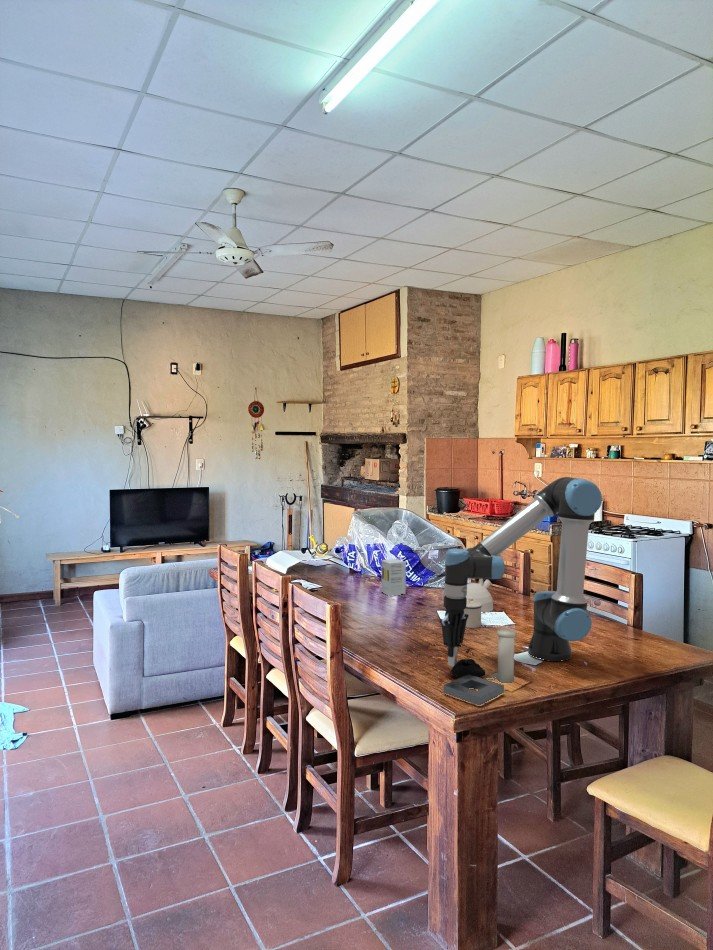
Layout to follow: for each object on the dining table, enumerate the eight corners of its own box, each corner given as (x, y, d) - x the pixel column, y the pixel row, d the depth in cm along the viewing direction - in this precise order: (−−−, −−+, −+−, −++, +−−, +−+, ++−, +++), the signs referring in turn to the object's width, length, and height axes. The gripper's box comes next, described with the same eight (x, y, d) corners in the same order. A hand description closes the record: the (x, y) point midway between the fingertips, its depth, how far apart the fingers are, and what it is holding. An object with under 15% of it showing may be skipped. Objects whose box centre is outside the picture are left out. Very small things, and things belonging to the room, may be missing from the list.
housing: (468, 683, 205) (468, 674, 205) (503, 695, 196) (504, 685, 196) (443, 694, 196) (443, 685, 196) (479, 707, 187) (479, 697, 187)
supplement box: (380, 592, 327) (381, 559, 326) (396, 590, 330) (397, 558, 329) (389, 596, 318) (389, 563, 317) (406, 595, 322) (406, 561, 321)
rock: (464, 696, 209) (452, 672, 217) (490, 680, 209) (477, 657, 217) (455, 682, 204) (442, 658, 212) (481, 666, 204) (468, 643, 212)
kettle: (503, 611, 292) (503, 571, 291) (463, 615, 285) (463, 575, 284) (478, 600, 311) (479, 563, 310) (440, 604, 303) (441, 566, 302)
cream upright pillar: (502, 676, 211) (503, 627, 210) (518, 680, 207) (519, 631, 206) (492, 680, 207) (493, 631, 206) (508, 685, 203) (509, 635, 202)
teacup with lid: (485, 627, 266) (485, 599, 266) (465, 629, 264) (465, 601, 263) (472, 619, 278) (473, 593, 277) (453, 621, 276) (453, 594, 275)
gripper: (452, 601, 207) (449, 673, 208) (476, 595, 216) (473, 664, 217) (434, 596, 212) (431, 666, 214) (457, 590, 221) (455, 658, 223)
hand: (452, 665), depth 215 cm, fingers closed
